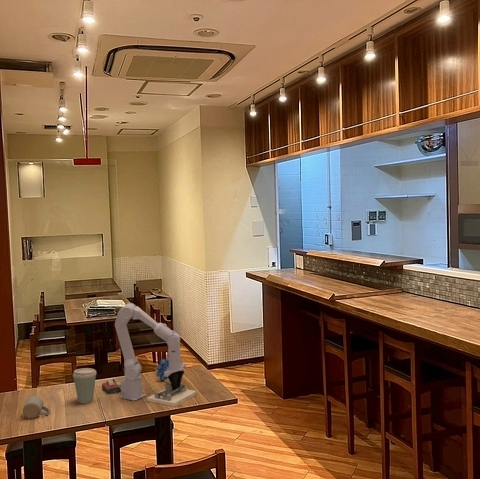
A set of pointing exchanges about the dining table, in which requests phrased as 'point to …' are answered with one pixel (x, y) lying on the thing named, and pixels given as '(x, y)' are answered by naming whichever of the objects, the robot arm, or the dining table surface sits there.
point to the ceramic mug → (34, 407)
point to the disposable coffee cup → (84, 384)
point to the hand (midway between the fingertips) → (176, 387)
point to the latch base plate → (172, 396)
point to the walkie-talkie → (111, 387)
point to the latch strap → (171, 390)
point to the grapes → (162, 368)
